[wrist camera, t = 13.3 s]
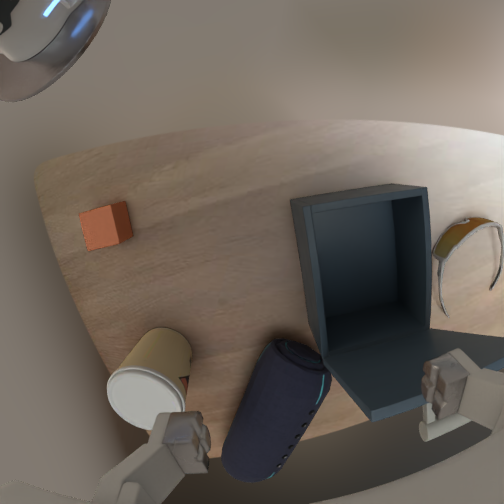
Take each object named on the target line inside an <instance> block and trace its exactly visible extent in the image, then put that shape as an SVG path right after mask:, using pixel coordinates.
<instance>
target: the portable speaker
mask: <svg viewBox="0 0 504 504" xmlns="http://www.w3.org/2000/svg"><path fill="white" fill-rule="evenodd" d="M331 381H332V377H331V373H330V371H329V370H328V369H327V368H326V367H325V365H324V363H323V359H322V356H321V355H320V354H318V353H317V352H316V351H314V350H313V349H311V348H310V347H309V346H307V345H305V344H302V343H299V342H296V341H292V340H288V339H284V338H279V339H274V340H272V341H271V342H270V343H269V344H268V345H267V346H266V347H265V349H264V350H263V352H262V354H261V355H260V357H259V359H258V361H257V363H256V365H255V368H254V371H253V373H252V376H251V378H250V381H249V383H248V386H247V388H246V391H245V393H244V396H243V398H242V401H241V403H240V406H239V408H238V411H237V413H236V415H235V418H234V420H233V423H232V425H231V427H230V430H229V432H228V435H227V437H226V439H225V442H224V444H223V448H222V455H221V459H222V463H223V466H224V468H225V469H226V471H227V472H228V473H229V474H230V475H231V476H232V477H234V478H235V479H237V480H240V481H243V482H258V481H262V480H265V479H267V478H271V477H272V476H274V475H275V474H276V473H277V472H278V471H280V469H281V468H282V467H283V465H284V463H285V462H286V460H287V459H288V457H289V456H290V454H291V453H292V451H293V450H294V448H295V447H296V445H297V444H298V442H299V440H300V439H301V437H302V436H303V434H304V432H305V431H306V429H307V427H308V426H309V424H310V422H311V421H312V419H313V417H314V416H315V414H316V412H317V411H318V409H319V407H320V405H321V404H322V402H323V400H324V398H325V397H326V395H327V393H328V392H329V390H330V386H331Z"/></svg>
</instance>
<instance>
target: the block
mask: <svg viewBox="0 0 504 504" xmlns="http://www.w3.org/2000/svg"><path fill="white" fill-rule="evenodd" d="M79 217H80V222H81V226H82V230H83V234H84V238H85V242H86V246H87V249H88V251H91V250H95V249H99V248H104V247H108V246H112V245H117V244H120V243H122V242H124V241H125V240H127V239H129V238H131V237H133V232H132V228H131V224H130V220H129V215H128V211H127V207H126V202H125V201H123V202H119V203H114V204H110V205H107V206H103V207H100V208H96V209H93V210H89V211H86V212H83V213H79Z"/></svg>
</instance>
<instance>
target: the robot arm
mask: <svg viewBox="0 0 504 504" xmlns="http://www.w3.org/2000/svg"><path fill="white" fill-rule="evenodd" d="M82 1H83V0H0V53H2V54H4V55H5V56H6V57H7V58H8V59H10V60H11V61H14V62H21V61H25V60H27V59H29V58H31V57H33V56H35V55H36V54H38V53H39V52H40V51H42V50H43V49H44V48H45V47H46V46H47V45H48V44H49V43H50V42H51V41H52V40H53V39H54V38H55V36H56V35H57V34H58V32H59V31H60V30H61V28H62V27H63V25H64V23H65V22H66V20H67V18H68V17H69V15H70V14H71V13H72V12H73V11H74V10H75V9H76V8H77V7H78V6H79V5H80V4H81V2H82ZM423 371H424V373H425V375H424V376H423V377H422V379H421V392H422V395H423V397H424V399H425V400H426V402H429V403H431V404H432V408H431V409H432V411H433V412H434V414H435V415H436V417H437V418H438V420H440V419H443V418H445V417H448V416H450V415H452V414H455V413H457V412H458V414H460V415H462V416H464V417H466V418H468V419H470V420H473V421H474V422H477V423H479V424H481V425H483V426H485V427H487V428H489V429H491V430H493V431H492V433H491V435H490V436H489V437H488V438H486V439H484V440H483V441H481V442H479V443H477V444H475V445H474V446H472V447H470V448H468V449H466V450H464V451H462V452H460V453H458V454H457V455H454V456H452V457H450V458H448V459H446V460H444V461H442V462H440V463H437V464H435V465H433V466H431V467H428V468H426V469H424V470H421V471H419V472H416V473H414V474H411V475H409V476H406V477H404V478H401V479H398V480H395V481H393V482H390V483H387V484H384V485H381V486H378V487H375V488H372V489H368V490H365V491H361V492H358V493H354V494H350V495H347V496H343V497H338V498H335V499H330V500H325V501H321V502H316V503H310V504H504V373H501V372H498V371H494V370H490V369H486V368H483V369H480V368H479V367H478V366H477V365H476V364H475V363H474V362H473V361H472V360H471V359H470V358H469V357H468V356H467V355H466V354H465V353H464V352H463V351H462V350H461V349H459V348H457V349H454V350H452V351H450V352H447V353H445V354H443V355H440V356H438V357H435V358H432V359H430V360H427V361H425V362H424V364H423ZM202 423H203V417H202V415H201V412H199V411H188V412H172V413H159V414H158V415H157V417H156V420H155V423H154V426H153V429H152V432H151V435H150V438H149V441H148V444H143V445H142V446H141V447H140V448H138V449H137V450H136V451H135V452H133V453H132V454H131V455H130V456H128V457H127V458H126V459H124V460H123V461H122V462H121V463H119V464H118V465H117V466H116V467H114V468H113V469H112V470H110V471H109V472H108V473H106V474H105V475H104V476H102V477H101V479H100V481H99V484H98V487H97V489H96V492H95V494H94V497H93V499H92V502H90V501H85V500H81V499H77V498H73V497H69V496H65V495H61V494H57V493H54V492H50V491H48V490H44V489H41V488H38V487H35V486H32V485H30V484H27V483H24V482H21V481H11V482H8V483H6V484H4V485H2V486H0V504H161V503H162V502H163V501H164V499H165V498H166V497H167V496H168V495H169V493H170V492H171V491H172V490H173V489H174V488H175V487H176V485H177V484H178V483H179V482H180V481H181V479H182V478H183V477H184V476H185V474H195V473H208V466H209V457H208V455H207V453H208V452H209V451H210V448H211V440H210V434H209V430H208V428H207V426H205V425H204V424H202Z"/></svg>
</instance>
